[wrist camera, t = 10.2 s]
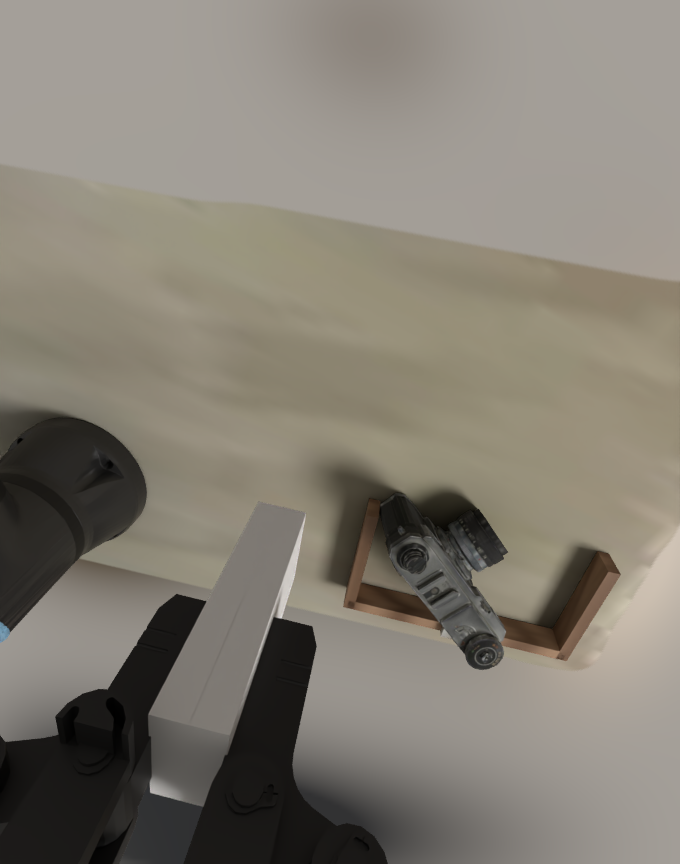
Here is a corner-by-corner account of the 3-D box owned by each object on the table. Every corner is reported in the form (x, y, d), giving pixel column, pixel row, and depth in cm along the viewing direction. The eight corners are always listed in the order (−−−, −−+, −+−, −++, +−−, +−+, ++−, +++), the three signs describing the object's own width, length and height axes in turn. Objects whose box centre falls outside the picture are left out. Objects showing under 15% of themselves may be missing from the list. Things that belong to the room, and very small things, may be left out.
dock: (346, 587, 55) (342, 612, 51) (369, 498, 48) (366, 520, 45) (558, 638, 53) (568, 667, 50) (608, 553, 47) (624, 580, 44)
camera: (523, 570, 52) (569, 636, 42) (454, 611, 53) (483, 685, 44) (440, 454, 47) (471, 500, 37) (366, 503, 48) (378, 560, 39)
